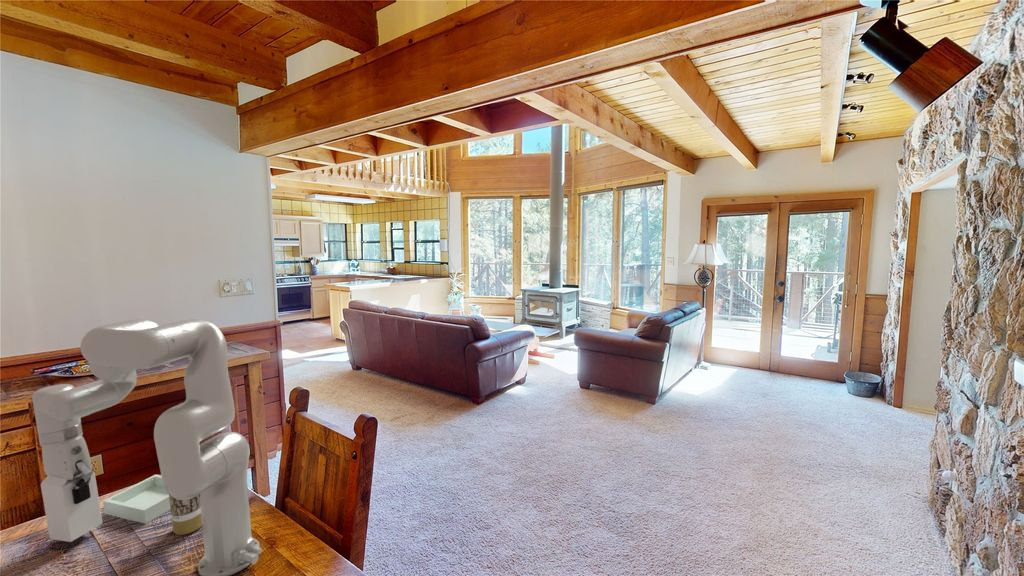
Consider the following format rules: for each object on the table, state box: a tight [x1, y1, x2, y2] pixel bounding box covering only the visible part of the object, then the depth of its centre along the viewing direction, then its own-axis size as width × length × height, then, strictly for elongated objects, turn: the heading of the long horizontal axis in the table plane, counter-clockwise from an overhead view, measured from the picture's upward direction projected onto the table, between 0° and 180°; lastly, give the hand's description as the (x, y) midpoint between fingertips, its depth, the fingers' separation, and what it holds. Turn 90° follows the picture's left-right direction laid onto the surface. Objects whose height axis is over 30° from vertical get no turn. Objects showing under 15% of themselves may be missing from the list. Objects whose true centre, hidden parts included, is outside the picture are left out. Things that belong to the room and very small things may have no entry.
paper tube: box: [169, 494, 202, 536], centre depth 114 cm, size 7×7×25 cm
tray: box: [102, 474, 171, 525], centre depth 126 cm, size 16×14×4 cm
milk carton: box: [40, 470, 103, 543], centre depth 110 cm, size 7×7×19 cm
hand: (71, 498), depth 110 cm, fingers closed on milk carton, 7 cm apart
